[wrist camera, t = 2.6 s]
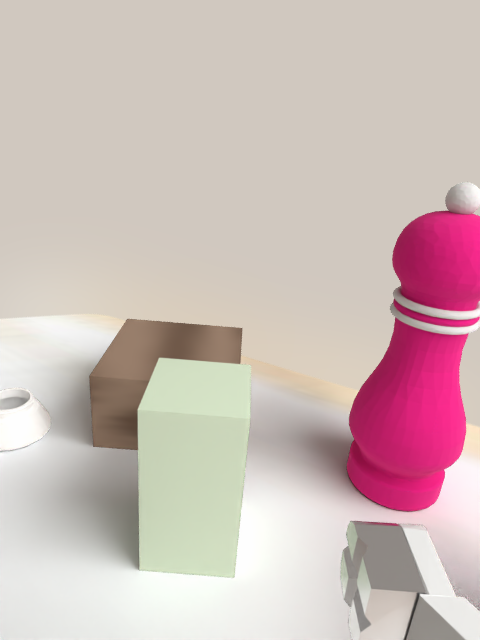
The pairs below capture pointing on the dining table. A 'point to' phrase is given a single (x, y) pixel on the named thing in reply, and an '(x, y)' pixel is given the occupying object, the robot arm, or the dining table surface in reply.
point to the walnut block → (147, 371)
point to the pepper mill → (421, 361)
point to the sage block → (192, 466)
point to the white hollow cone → (21, 419)
